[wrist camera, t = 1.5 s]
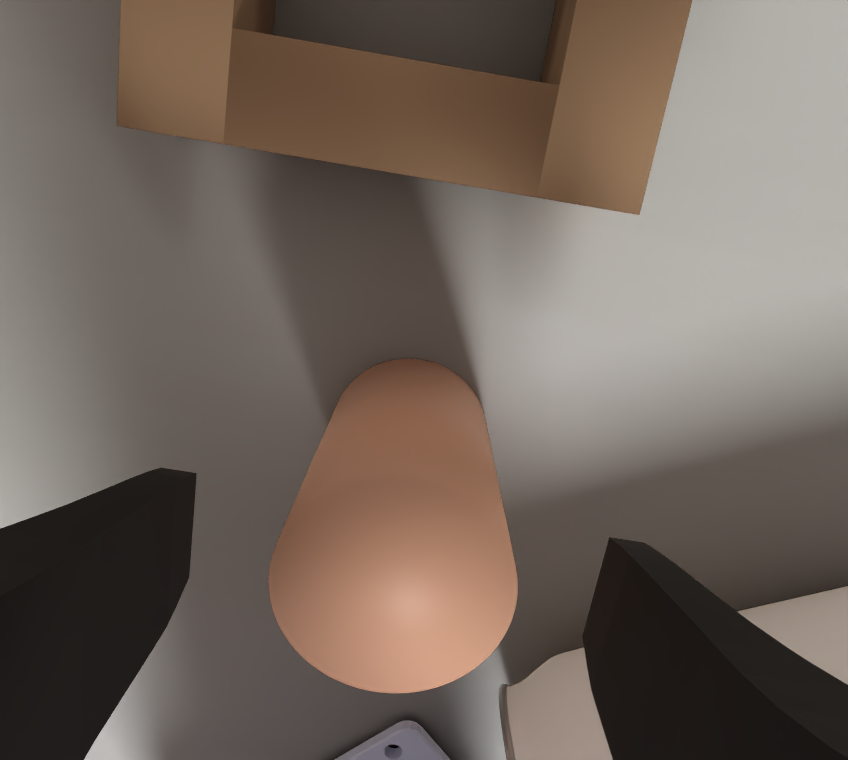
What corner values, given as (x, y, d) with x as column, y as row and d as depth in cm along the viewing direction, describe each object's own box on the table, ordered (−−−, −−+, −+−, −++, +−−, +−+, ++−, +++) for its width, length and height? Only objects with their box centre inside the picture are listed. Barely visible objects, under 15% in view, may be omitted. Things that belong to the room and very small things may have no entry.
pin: (392, 530, 18) (368, 731, 12) (300, 416, 18) (217, 563, 11) (516, 450, 18) (566, 616, 11) (426, 327, 17) (421, 427, 10)
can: (910, 530, 19) (492, 629, 20) (1125, 615, 13) (494, 753, 14) (972, 754, 19) (550, 840, 20) (1219, 954, 13) (580, 1063, 14)
